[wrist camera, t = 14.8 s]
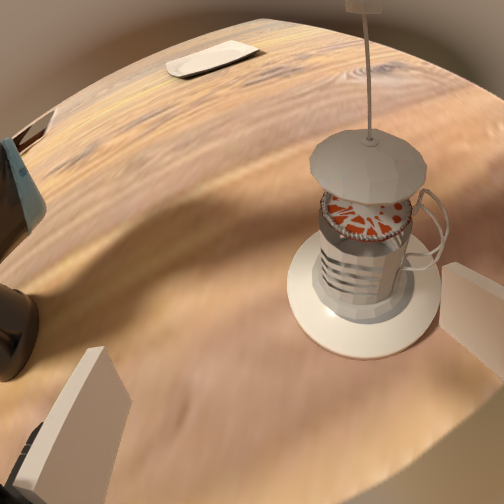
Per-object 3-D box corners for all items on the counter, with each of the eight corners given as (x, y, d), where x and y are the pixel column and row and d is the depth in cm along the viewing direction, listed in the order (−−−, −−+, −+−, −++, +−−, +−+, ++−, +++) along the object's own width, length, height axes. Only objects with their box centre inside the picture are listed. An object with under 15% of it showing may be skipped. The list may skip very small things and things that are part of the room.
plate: (178, 87, 80) (175, 79, 78) (163, 70, 98) (161, 64, 96) (266, 56, 82) (265, 48, 80) (234, 44, 100) (233, 38, 98)
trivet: (261, 271, 35) (258, 262, 33) (373, 207, 37) (374, 197, 36) (345, 393, 25) (346, 389, 23) (464, 298, 27) (470, 290, 26)
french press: (339, 223, 34) (318, -16, 15) (435, 264, 28) (491, 9, 9) (292, 291, 30) (222, 8, 11) (399, 345, 25) (498, 32, 5)
